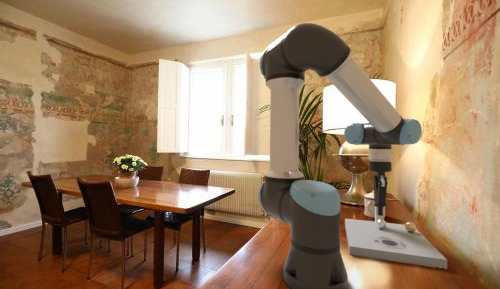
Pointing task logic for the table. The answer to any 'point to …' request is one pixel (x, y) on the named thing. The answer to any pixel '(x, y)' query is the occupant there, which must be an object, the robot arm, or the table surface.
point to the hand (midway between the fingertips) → (379, 223)
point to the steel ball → (381, 224)
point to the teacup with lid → (370, 205)
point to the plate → (391, 244)
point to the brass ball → (410, 227)
